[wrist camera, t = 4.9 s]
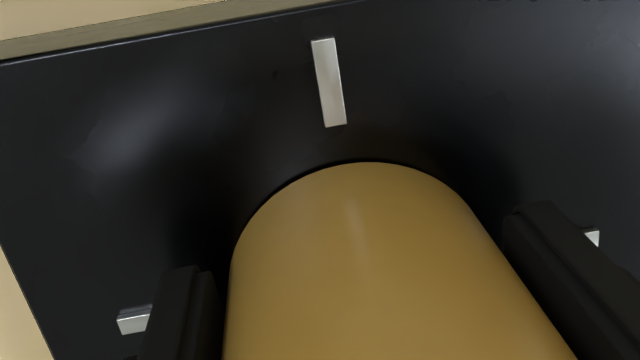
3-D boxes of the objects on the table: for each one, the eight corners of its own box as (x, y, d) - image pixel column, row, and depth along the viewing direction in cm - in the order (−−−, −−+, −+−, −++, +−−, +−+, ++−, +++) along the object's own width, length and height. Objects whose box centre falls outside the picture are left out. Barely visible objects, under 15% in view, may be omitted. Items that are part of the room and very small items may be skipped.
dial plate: (615, -70, 11) (716, -66, 8) (591, 337, 15) (653, 416, 13) (-10, 41, 11) (-90, 77, 8) (144, 420, 15) (121, 517, 12)
